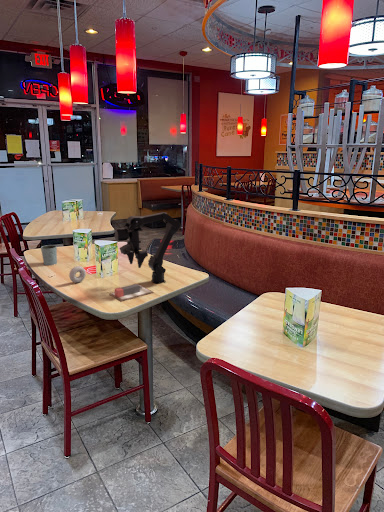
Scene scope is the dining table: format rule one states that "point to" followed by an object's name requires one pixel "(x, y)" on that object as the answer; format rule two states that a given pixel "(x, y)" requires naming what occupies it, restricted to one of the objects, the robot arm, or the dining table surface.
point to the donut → (81, 276)
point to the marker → (127, 290)
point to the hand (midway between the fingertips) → (135, 265)
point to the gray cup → (49, 254)
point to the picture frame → (142, 292)
